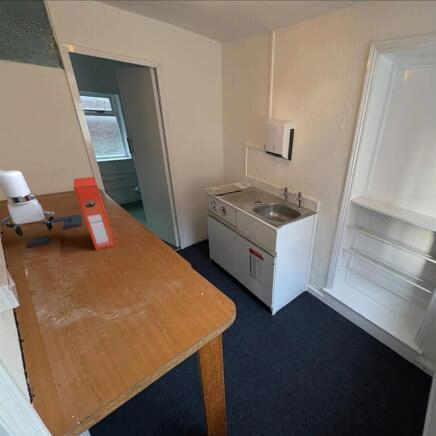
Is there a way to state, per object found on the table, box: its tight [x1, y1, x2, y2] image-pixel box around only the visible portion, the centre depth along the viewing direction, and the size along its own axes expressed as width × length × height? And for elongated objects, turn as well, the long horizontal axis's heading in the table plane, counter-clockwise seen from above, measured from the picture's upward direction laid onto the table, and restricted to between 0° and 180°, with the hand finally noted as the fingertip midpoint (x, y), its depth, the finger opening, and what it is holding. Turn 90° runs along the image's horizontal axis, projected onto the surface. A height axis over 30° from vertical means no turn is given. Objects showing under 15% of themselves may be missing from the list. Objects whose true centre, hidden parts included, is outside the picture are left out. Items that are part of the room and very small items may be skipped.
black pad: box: [28, 235, 50, 249], centre depth 113 cm, size 6×6×4 cm
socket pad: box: [43, 213, 83, 230], centre depth 135 cm, size 16×16×2 cm
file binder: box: [73, 176, 116, 251], centre depth 114 cm, size 8×17×32 cm, turn 40°
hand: (36, 232), depth 110 cm, fingers open, 9 cm apart
